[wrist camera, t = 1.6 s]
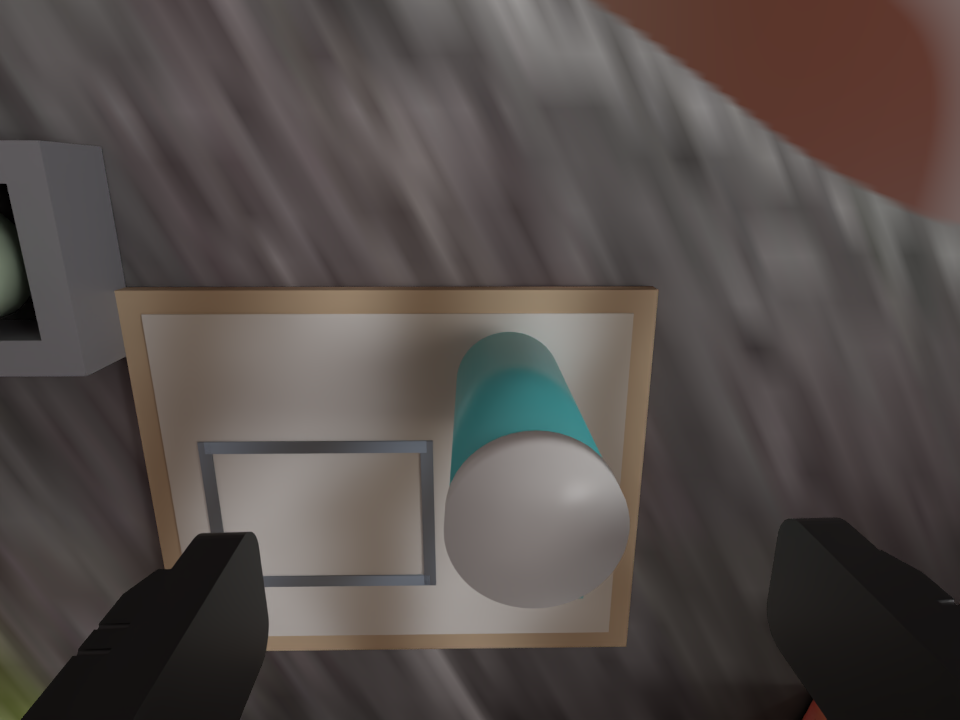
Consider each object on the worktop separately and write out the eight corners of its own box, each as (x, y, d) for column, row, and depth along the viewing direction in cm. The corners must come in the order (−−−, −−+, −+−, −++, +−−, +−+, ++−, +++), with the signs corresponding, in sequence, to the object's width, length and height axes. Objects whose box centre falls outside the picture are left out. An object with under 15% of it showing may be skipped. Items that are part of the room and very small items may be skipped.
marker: (558, 321, 18) (636, 445, 9) (554, 417, 18) (623, 607, 10) (454, 321, 17) (442, 446, 9) (456, 418, 18) (444, 609, 10)
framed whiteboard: (652, 286, 18) (659, 290, 17) (622, 634, 22) (626, 649, 21) (125, 287, 18) (111, 291, 17) (187, 639, 21) (178, 654, 21)
